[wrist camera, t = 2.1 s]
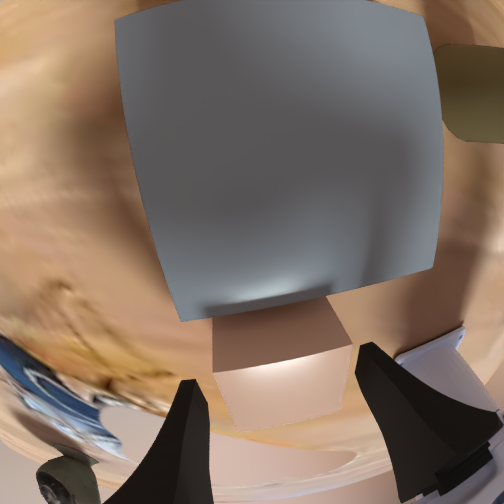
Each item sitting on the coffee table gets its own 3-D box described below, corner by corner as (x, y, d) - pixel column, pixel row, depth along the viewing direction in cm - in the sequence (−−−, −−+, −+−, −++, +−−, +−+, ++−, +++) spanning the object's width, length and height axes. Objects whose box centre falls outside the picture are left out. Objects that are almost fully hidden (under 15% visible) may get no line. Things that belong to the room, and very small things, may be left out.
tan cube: (313, 344, 15) (340, 411, 11) (231, 360, 15) (238, 432, 11) (313, 275, 13) (352, 343, 9) (212, 293, 13) (212, 373, 9)
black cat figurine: (58, 433, 20) (37, 440, 22) (41, 510, 9) (23, 501, 11) (122, 466, 24) (91, 470, 26) (117, 537, 13) (84, 527, 15)
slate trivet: (399, 241, 13) (432, 267, 10) (187, 280, 12) (180, 321, 10) (385, 31, 8) (423, 16, 5) (139, 43, 8) (114, 20, 5)
